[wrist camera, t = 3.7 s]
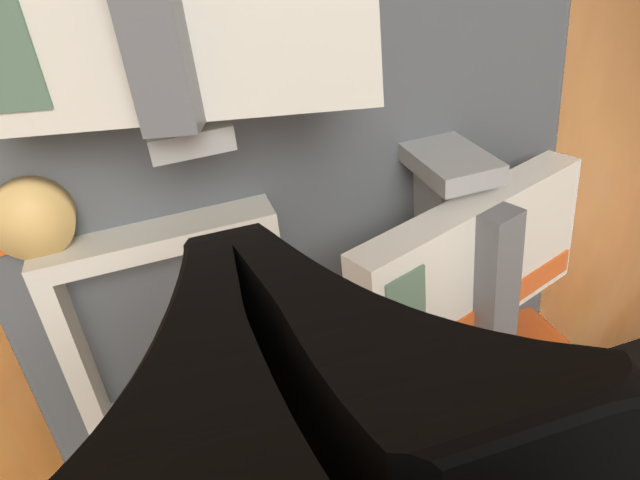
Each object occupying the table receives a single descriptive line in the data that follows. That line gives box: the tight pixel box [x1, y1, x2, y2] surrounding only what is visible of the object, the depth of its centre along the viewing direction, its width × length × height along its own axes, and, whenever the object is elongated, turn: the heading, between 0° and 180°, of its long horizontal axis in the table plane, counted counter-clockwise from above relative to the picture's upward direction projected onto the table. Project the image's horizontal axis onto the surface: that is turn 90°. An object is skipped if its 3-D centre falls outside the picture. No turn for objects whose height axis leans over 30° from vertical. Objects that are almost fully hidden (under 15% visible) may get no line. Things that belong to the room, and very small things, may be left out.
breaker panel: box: [0, 0, 571, 462], centre depth 18 cm, size 19×23×4 cm
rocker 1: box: [0, 0, 384, 139], centre depth 12 cm, size 9×4×2 cm, turn 96°
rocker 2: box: [341, 150, 582, 335], centre depth 18 cm, size 9×4×2 cm, turn 96°
